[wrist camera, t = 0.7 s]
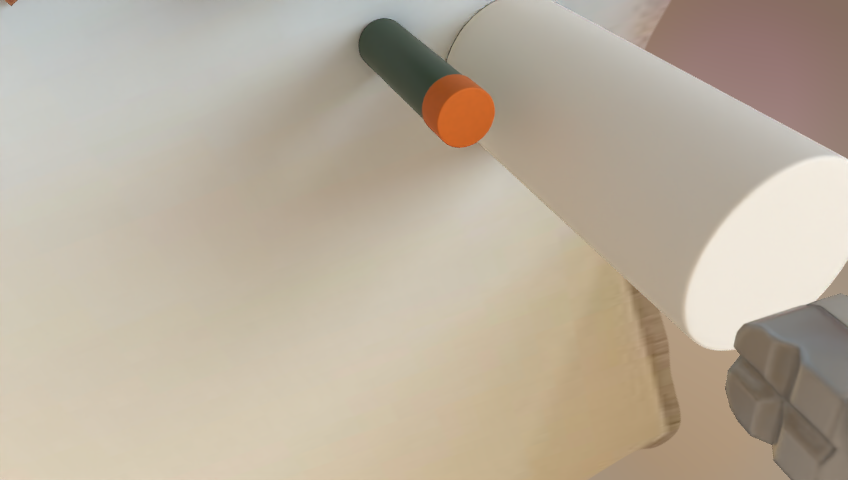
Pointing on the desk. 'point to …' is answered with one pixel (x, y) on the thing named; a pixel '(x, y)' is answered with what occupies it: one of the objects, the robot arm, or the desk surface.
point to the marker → (428, 83)
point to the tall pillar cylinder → (659, 169)
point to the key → (11, 2)
